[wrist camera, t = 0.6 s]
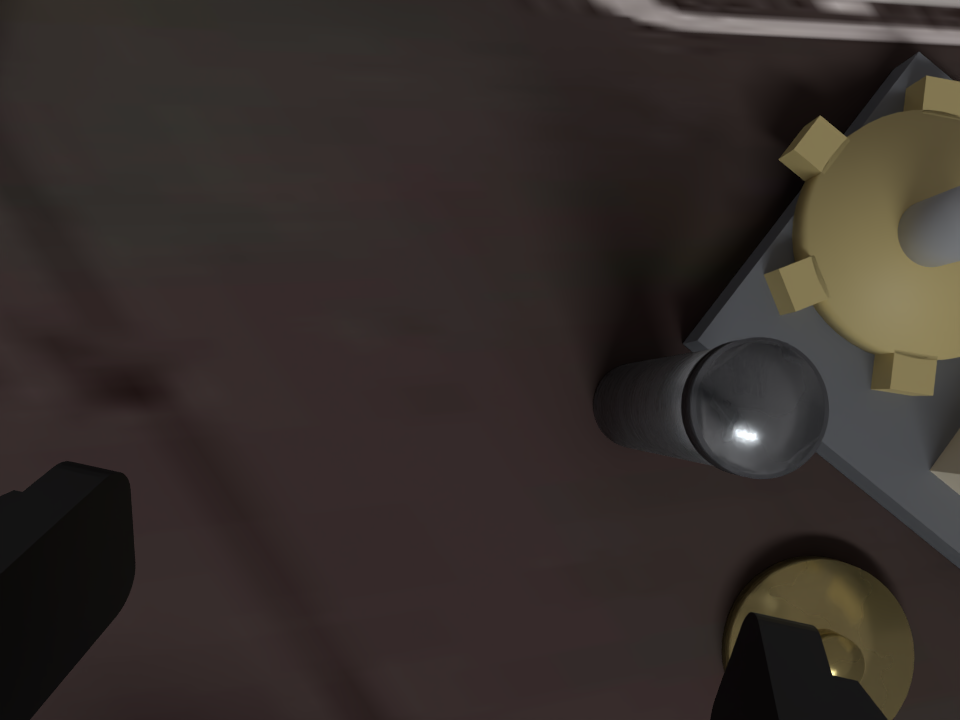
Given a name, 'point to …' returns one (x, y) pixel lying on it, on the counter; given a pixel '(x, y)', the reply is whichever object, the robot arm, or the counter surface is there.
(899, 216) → the gear board
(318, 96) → the counter surface
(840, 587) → the brass knob disc
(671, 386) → the grey cylinder peg
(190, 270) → the counter surface
